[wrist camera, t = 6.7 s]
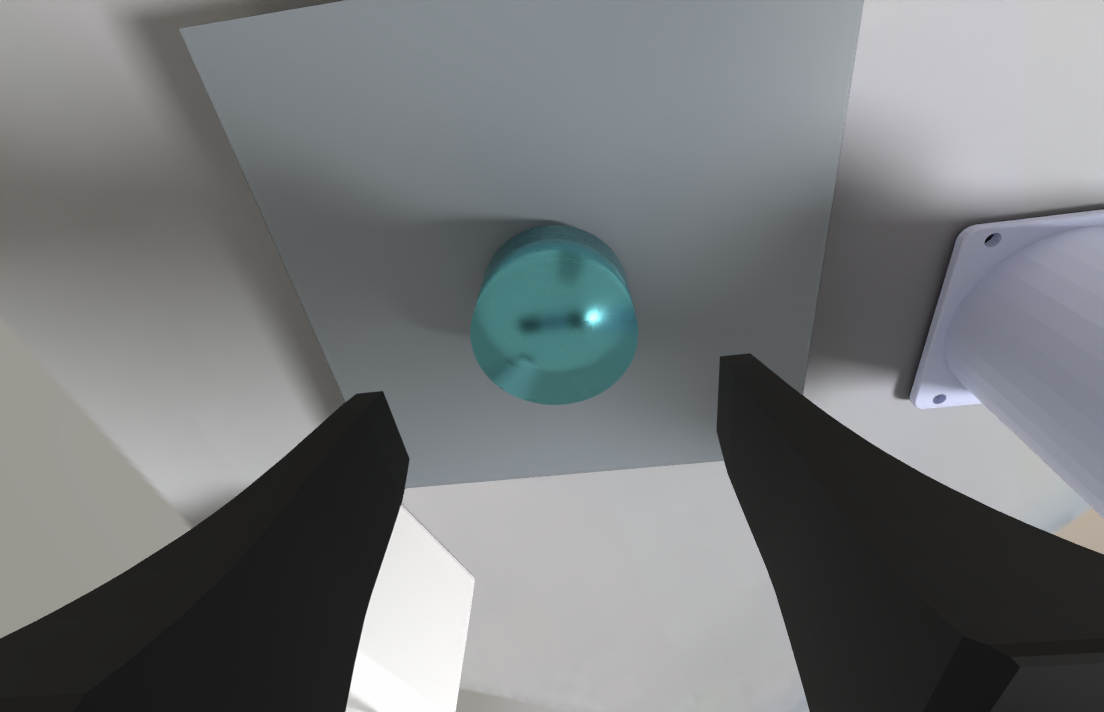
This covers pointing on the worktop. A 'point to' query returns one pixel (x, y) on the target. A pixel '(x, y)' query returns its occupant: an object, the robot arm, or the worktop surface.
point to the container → (413, 627)
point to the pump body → (542, 198)
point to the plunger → (554, 317)
